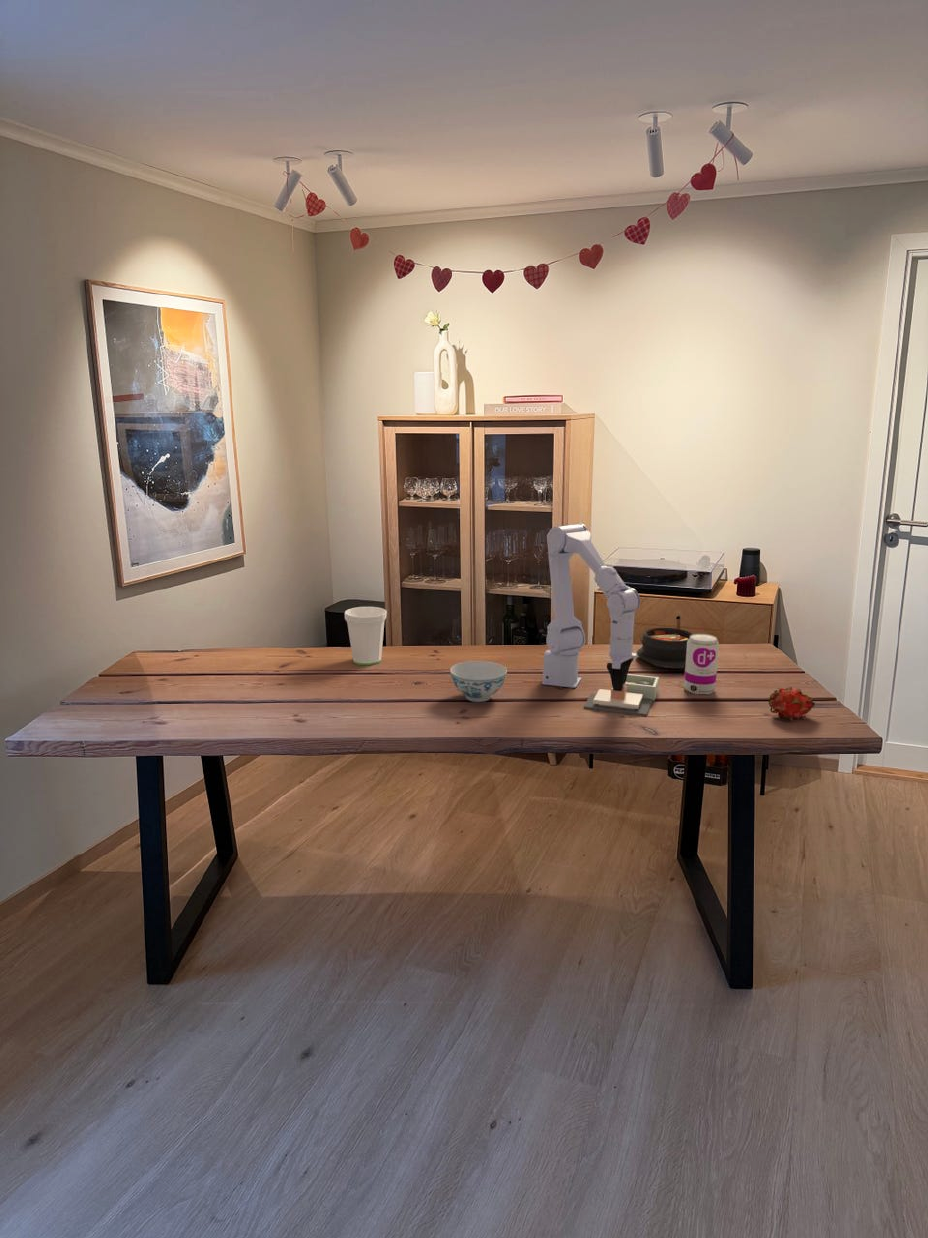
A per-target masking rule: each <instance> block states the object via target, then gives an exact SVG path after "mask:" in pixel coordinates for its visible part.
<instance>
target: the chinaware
mask: <svg viewBox="0 0 928 1238" xmlns="http://www.w3.org/2000/svg"><path fill="white" fill-rule="evenodd" d="M449 673H450V677H451V680H452V683H453V684H454V687H455V688H456V689H457V690H458V691H459V692H460V693H462V695H464V696H465V699H467V700H468V701H470V702H474V703H475V702H477V703H483V702H486V701H489V700H490V699H491V698H492V696H493V695H494V694H496V693H497V692H498V691H500V689H501V688H502V686H503V684H504V682H505V681H506V677H507V675H508V670H507V667H506V666H505V665H502V664H500V663H497V662H495V661H494V662H492V661H485V660H471V661H464V662H462V661H461V662H459V663H455V664H454V665H452V666H451V667H450V669H449Z"/></svg>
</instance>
